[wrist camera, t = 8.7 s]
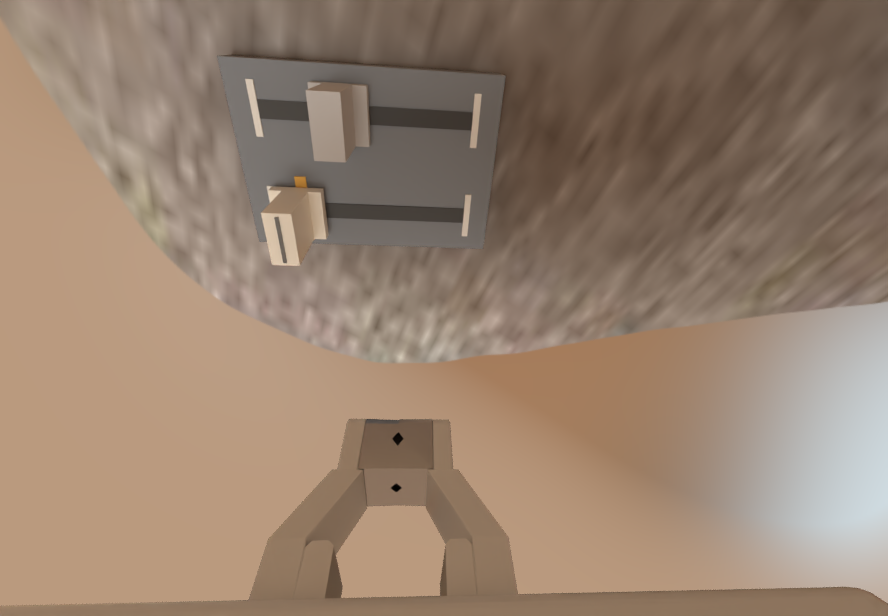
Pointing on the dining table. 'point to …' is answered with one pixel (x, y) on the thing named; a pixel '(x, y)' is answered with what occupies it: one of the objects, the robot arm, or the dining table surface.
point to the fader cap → (293, 223)
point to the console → (370, 145)
